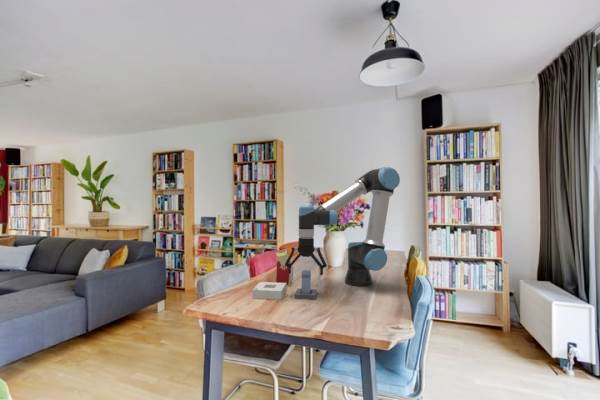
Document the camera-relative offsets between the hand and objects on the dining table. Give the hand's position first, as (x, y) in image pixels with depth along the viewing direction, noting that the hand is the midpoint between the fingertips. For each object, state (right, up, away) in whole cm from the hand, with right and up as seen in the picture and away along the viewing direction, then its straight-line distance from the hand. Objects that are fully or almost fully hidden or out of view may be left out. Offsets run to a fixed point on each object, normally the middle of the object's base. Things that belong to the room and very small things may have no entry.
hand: (305, 281), depth 143 cm
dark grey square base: (0, -7, 0) cm, 7 cm away
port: (-18, -7, +2) cm, 19 cm away
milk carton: (-12, -8, +21) cm, 25 cm away
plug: (0, -7, 0) cm, 7 cm away
